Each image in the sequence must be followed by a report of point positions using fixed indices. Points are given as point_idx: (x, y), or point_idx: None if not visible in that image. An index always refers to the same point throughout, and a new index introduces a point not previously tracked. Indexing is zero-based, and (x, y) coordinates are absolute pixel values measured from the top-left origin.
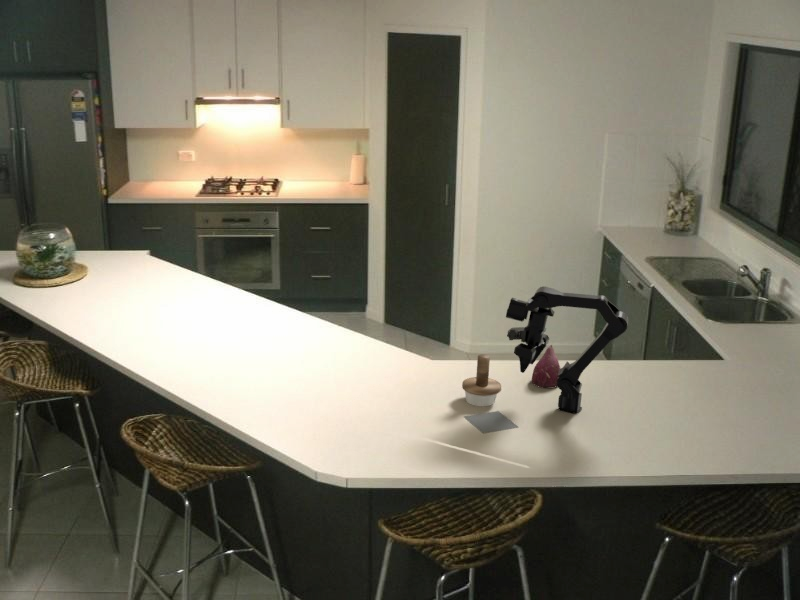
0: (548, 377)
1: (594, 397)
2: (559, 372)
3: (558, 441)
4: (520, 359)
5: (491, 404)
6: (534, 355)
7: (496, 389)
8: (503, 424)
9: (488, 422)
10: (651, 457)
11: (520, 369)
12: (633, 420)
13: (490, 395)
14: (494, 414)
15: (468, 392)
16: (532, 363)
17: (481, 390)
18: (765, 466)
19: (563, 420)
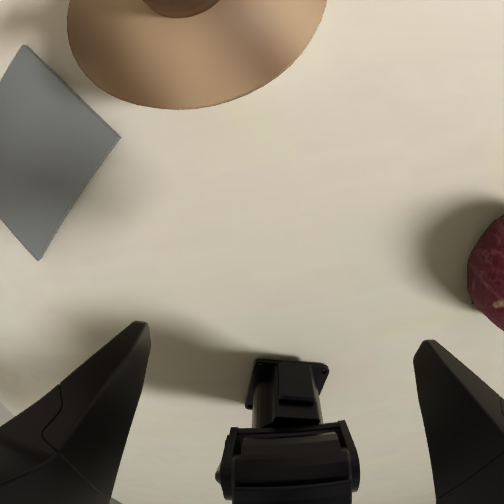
0: (494, 301)
1: (407, 412)
2: (282, 494)
3: (54, 369)
4: (16, 430)
5: None
6: (448, 432)
7: (140, 92)
8: (24, 204)
9: (13, 147)
10: (127, 485)
11: (116, 336)
12: None
13: None
14: (77, 136)
15: None
16: (415, 367)
17: (89, 23)
18: None
19: (188, 379)
